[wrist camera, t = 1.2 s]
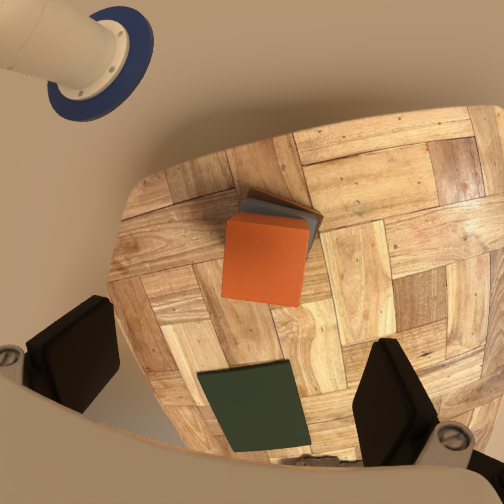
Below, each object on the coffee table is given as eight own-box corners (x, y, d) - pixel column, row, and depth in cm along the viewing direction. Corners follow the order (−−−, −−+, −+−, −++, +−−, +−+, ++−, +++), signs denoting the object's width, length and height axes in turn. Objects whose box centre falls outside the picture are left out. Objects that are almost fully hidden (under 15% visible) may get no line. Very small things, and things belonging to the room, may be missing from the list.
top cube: (235, 274, 24) (221, 297, 19) (240, 211, 23) (226, 219, 18) (297, 282, 24) (298, 307, 19) (306, 219, 22) (310, 229, 18)
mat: (197, 372, 36) (196, 375, 36) (289, 359, 34) (289, 362, 34) (234, 449, 40) (233, 452, 39) (311, 442, 37) (311, 444, 37)
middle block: (233, 260, 28) (224, 273, 24) (248, 197, 27) (240, 199, 23) (296, 277, 28) (296, 292, 24) (314, 214, 26) (318, 219, 22)
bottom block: (232, 249, 32) (224, 258, 28) (255, 186, 30) (250, 187, 26) (294, 273, 32) (294, 286, 28) (320, 211, 30) (324, 216, 26)
